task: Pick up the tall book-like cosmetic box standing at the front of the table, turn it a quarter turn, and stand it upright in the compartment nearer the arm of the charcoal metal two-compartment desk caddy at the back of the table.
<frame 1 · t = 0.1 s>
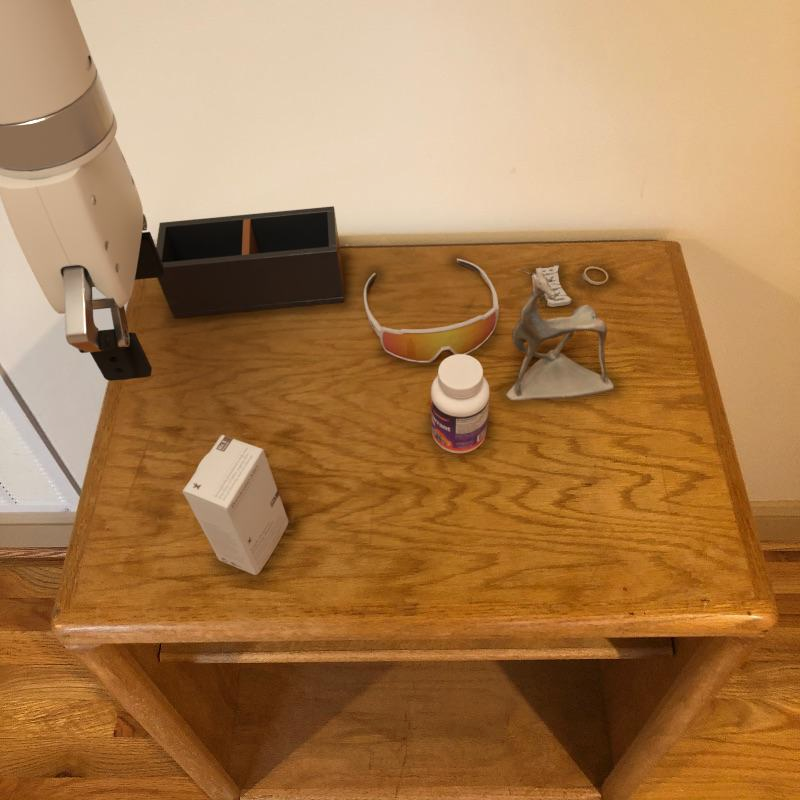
hand: (137, 323, 57), 22 cm above the table, tool pointing down, fingers open, 9 cm apart
ring: (593, 278, 89), on the table
figurine: (556, 374, 81), on the table
pill bottle: (458, 433, 77), on the table
sunglasses: (430, 315, 86), on the table
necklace: (543, 289, 88), on the table
caddy: (259, 287, 90), on the table
cosmetic box: (254, 540, 71), on the table
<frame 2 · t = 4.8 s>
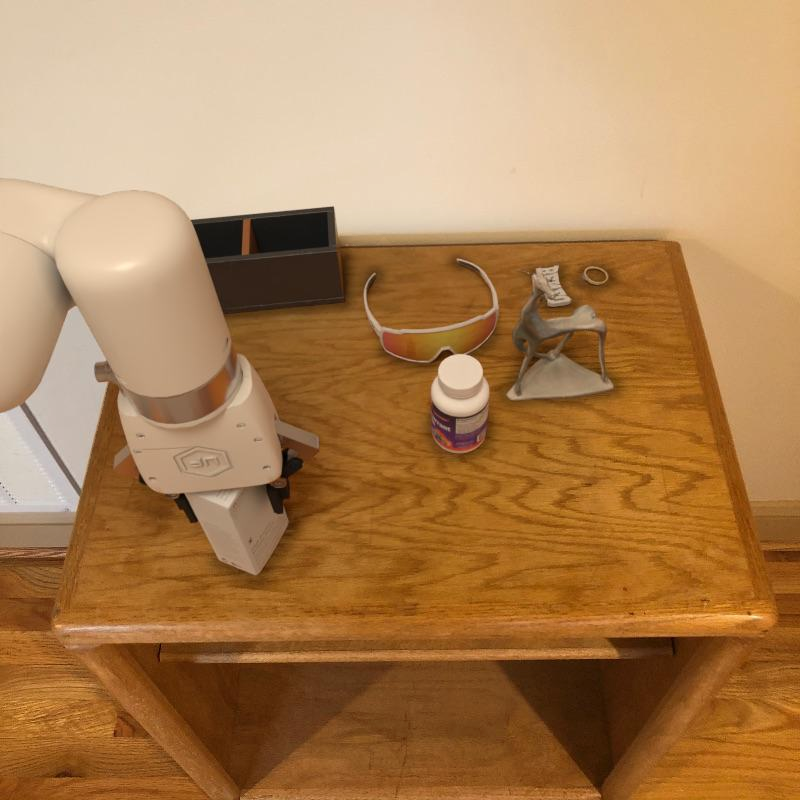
hand: (237, 502, 65), 7 cm above the table, tool pointing down, fingers closed on cosmetic box, 6 cm apart
cosmetic box: (254, 540, 71), on the table, touching gripper
everything else where it was.
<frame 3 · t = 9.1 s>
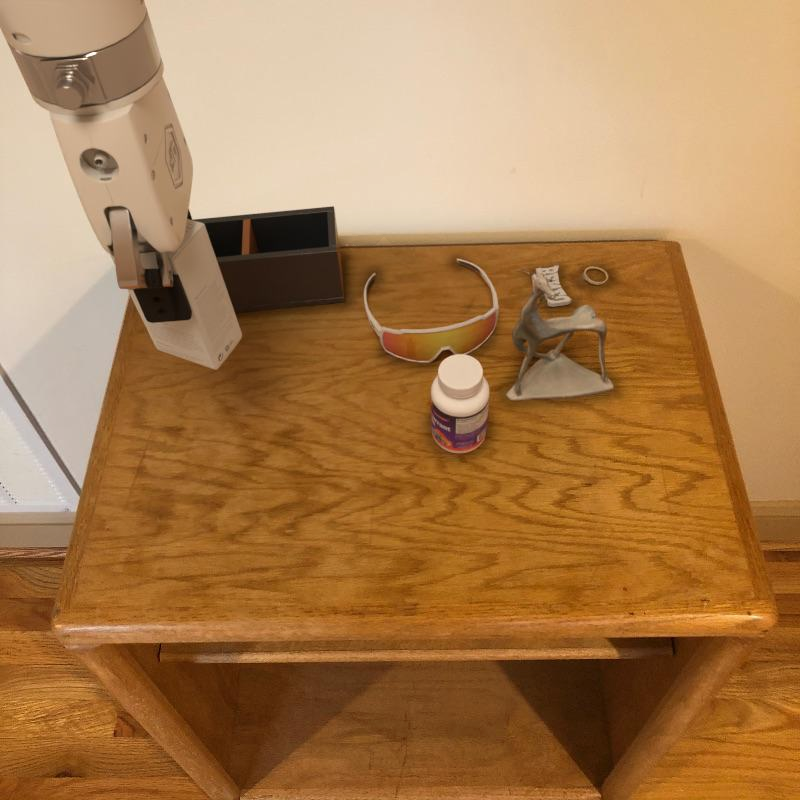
hand: (174, 282, 58), 23 cm above the table, tool pointing down, fingers closed on cosmetic box, 6 cm apart
cosmetic box: (198, 346, 64), point 16 cm above the table, touching gripper
everything else where it was.
when the fingers open (9 cm above the table, at t = 14.0 s): cosmetic box moves 1 cm, resting on caddy.
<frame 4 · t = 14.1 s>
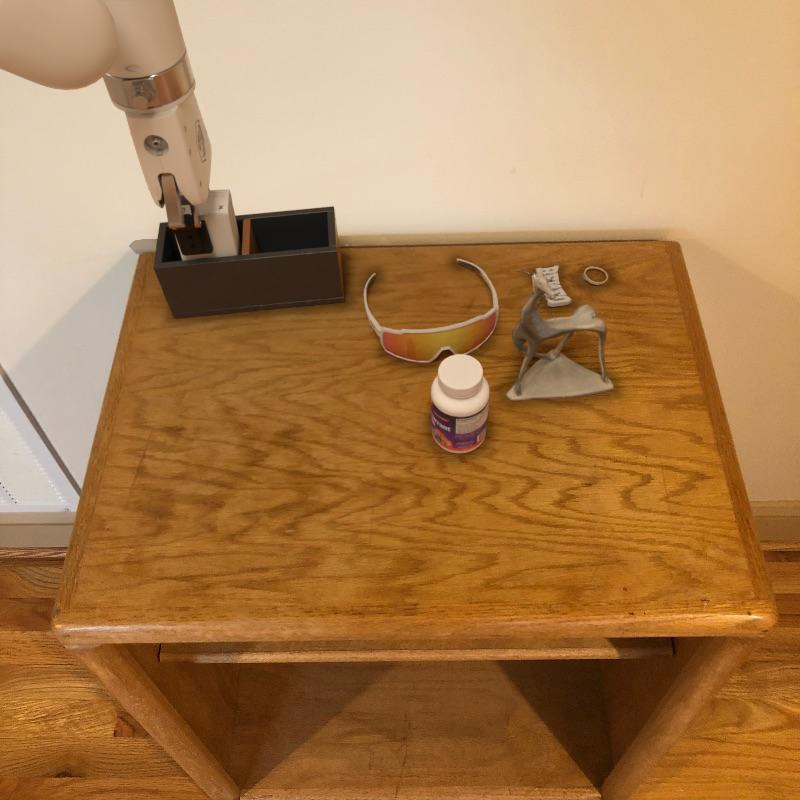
hand: (199, 232, 83), 9 cm above the table, tool pointing down, fingers open, 5 cm apart
cosmetic box: (219, 289, 89), point 1 cm above the table, touching caddy
everything else where it was.
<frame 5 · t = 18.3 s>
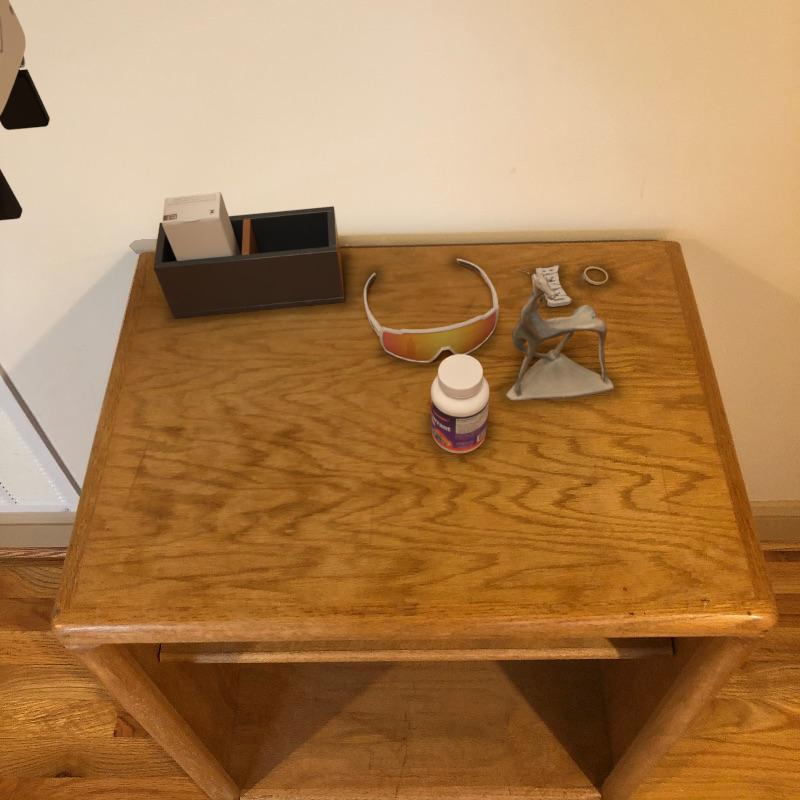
hand: (14, 169, 52), 32 cm above the table, tool pointing down, fingers open, 9 cm apart
at the end: cosmetic box 0.6 cm from the target spot on the caddy, point 0.6 cm above the caddy's base; cosmetic box tilted 0°; the gripper is holding nothing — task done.
